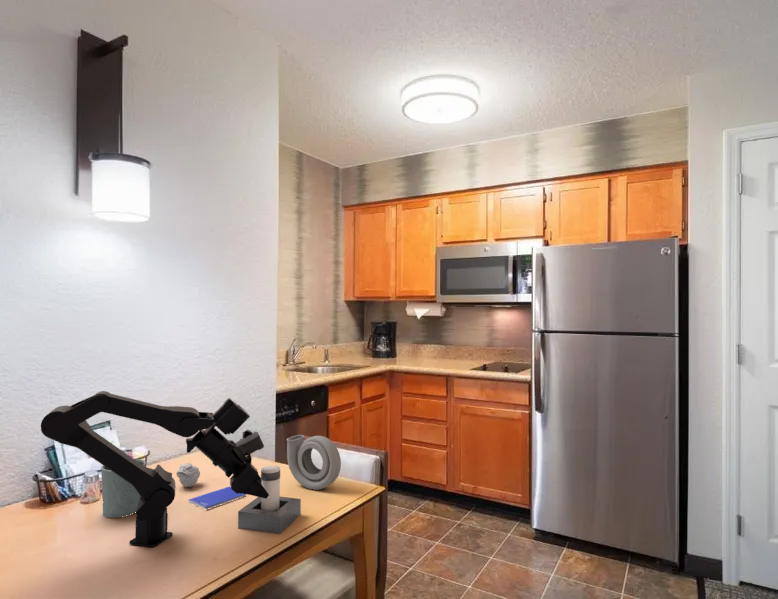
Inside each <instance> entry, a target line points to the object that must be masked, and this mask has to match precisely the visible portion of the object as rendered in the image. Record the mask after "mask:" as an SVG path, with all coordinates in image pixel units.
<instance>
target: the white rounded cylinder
mask: <svg viewBox="0 0 778 599" xmlns="http://www.w3.org/2000/svg"><path fill="white" fill-rule="evenodd" d="M260 477H261V484H262V486H263V487H264V488H265V490H266V491H267V492H268V494H269V496H268V497H267V498H266V499H265V498H261V510H266V511H274V512H277V511H278V510H279V508H280V497H281V494H280V488H281V485H280V484H281V483H280V482H281V480H280V479H281V466H279V465H274V464H273V465H272V464H271V465H265V466H263V467H261V470H260Z"/></svg>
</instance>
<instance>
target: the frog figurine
mask: <svg viewBox="0 0 778 599" xmlns="http://www.w3.org/2000/svg"><path fill="white" fill-rule="evenodd" d="M200 474H201V471H200V468H199V467H197V465H193V464H192V463H191V462H186V463H184V464H180V465H179V469H178V470H177V471H176V477H177V478H179V479H178V481H179V483H180V484H181V485H182V487H185V488H192V487H193V486H195V485H197V483H198V481H199V477H200V476H201V475H200Z"/></svg>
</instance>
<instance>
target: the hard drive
mask: <svg viewBox="0 0 778 599" xmlns="http://www.w3.org/2000/svg"><path fill="white" fill-rule="evenodd" d="M243 496H246V497H247V494H242V493H241V494H239V493H238V494H236V493H235V492H234V491H233V490H232V489H231V486H227V487H226V486H225V487H224V488H220V489H217V490H214V491H210V492H208V493H205V494H202V495H198V496H196V497H192V498H190V499H188V502H189V503H188V504H190V503H191V504H190V505H192V504H194V505H196V506H199V507H202V508H204V509H208V508H211V507H214V506H218V505H220V504H223V505H225V504H224V503H226V504H228V503H227V502H229V501H232V500H234V501H236V500H235V499H237V498H240V497H243ZM243 498H244V497H243ZM240 499H241V498H240ZM237 500H238V499H237ZM232 502H233V501H232ZM229 503H230V502H229ZM194 505H193V506H194ZM196 506H195V507H196ZM218 507H219V506H218Z"/></svg>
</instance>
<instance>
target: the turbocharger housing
mask: <svg viewBox="0 0 778 599" xmlns="http://www.w3.org/2000/svg"><path fill="white" fill-rule="evenodd" d="M305 437H306V436H305V435H303V434H297V435H292V436H291V437H288V438H286V442H287V443H286V446H287V447H286V448H287V449H286V459H287V465H288V469H289V470H290V473H291V475H292V476H293V478H294V479H295V481H296V482H297V483H299V484H300V485H301V486H303V487H304V488H306V489H308V490H312V489H313V491H315V490H318V491H319V490H322V489H325V488H326V487H328V486H330V485H332V484H333V483H334V482H335V481H336V480H337V479H338V477H339V475H340V472H341V468H342V467H341V466H342V462H341V461H342V459H341V456H340V452H339V449H338V448H337V446H336V445H335V443H334V442H333V441H332V440H330V439H329V437H326V436H323V435H314V436H310V437H308V438H306V439H305ZM313 450H316V451H317V453H318V454H319V455H320V457H321V461H322V465H321V469H320V468H318V467H317V466H316V465H315V464H314V462H313V458H312V452H313Z"/></svg>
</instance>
